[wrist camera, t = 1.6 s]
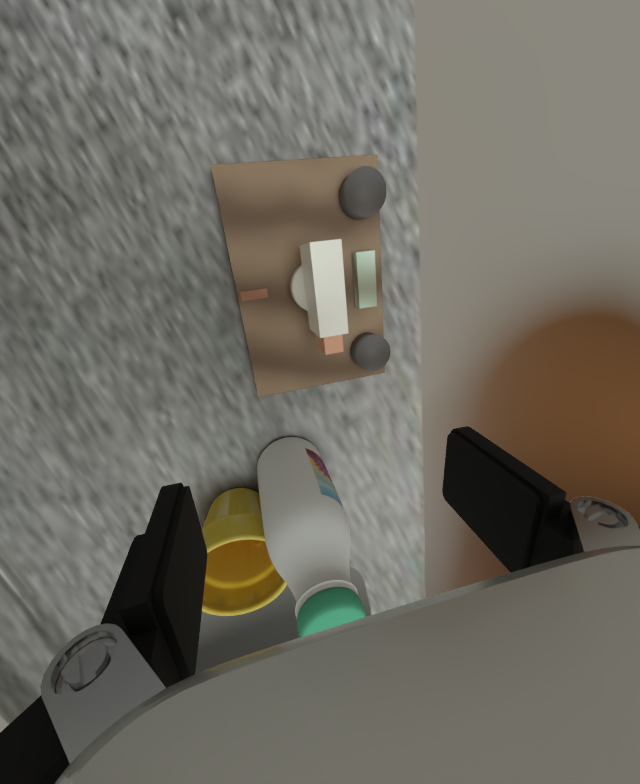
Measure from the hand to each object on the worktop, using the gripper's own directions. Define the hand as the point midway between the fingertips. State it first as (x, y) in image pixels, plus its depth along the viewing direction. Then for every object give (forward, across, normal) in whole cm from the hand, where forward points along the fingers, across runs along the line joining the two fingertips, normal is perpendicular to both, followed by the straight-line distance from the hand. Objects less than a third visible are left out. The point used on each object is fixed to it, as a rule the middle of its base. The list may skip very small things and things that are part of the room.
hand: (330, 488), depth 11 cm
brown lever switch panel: (+24, -5, -5) cm, 25 cm away
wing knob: (+22, -5, -5) cm, 23 cm away
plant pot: (+24, +6, +20) cm, 32 cm away
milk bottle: (+24, 0, +15) cm, 28 cm away
